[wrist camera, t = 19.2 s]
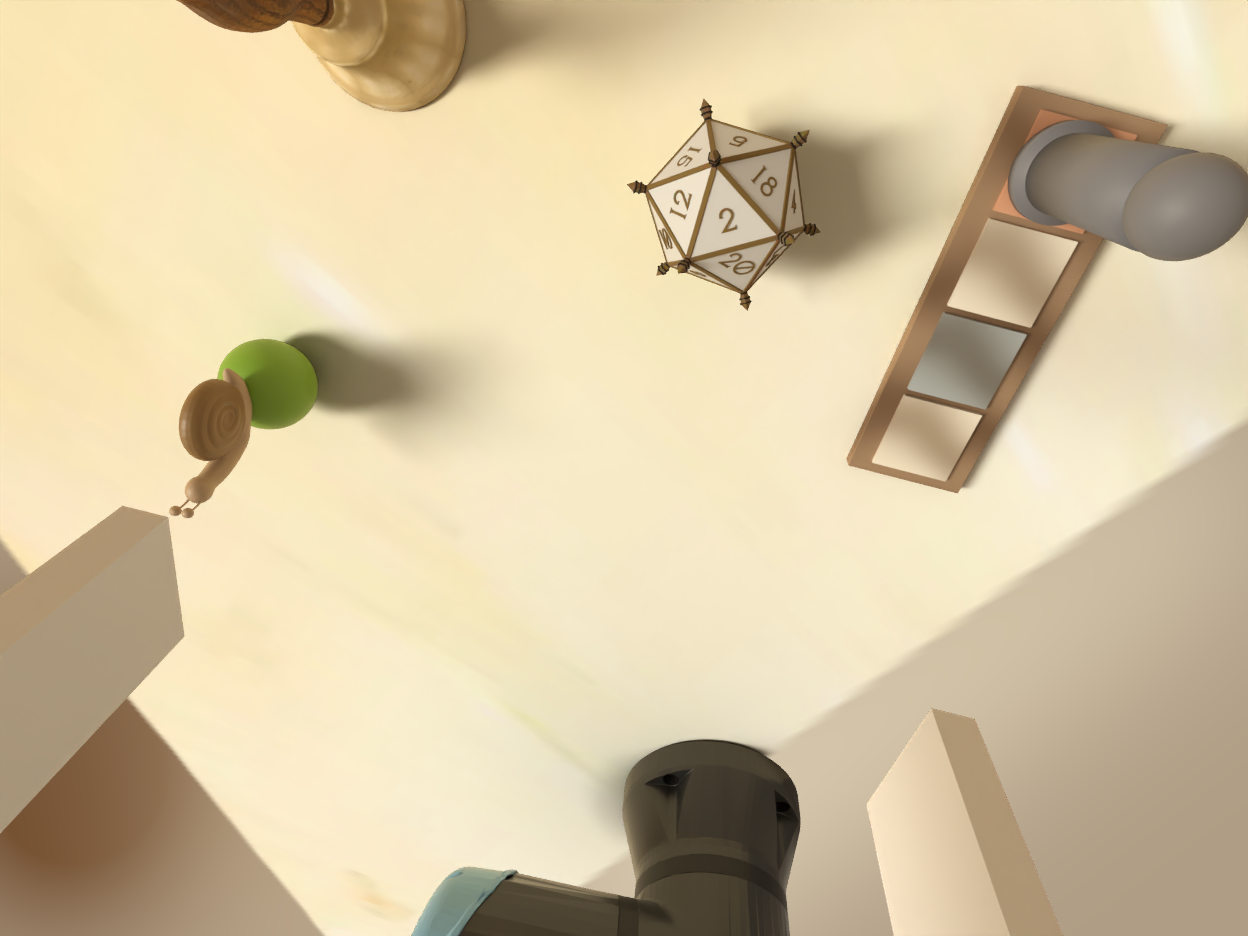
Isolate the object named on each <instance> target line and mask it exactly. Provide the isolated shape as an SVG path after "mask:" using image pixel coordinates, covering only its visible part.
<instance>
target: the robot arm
mask: <svg viewBox="0 0 1248 936" xmlns="http://www.w3.org/2000/svg"><path fill="white" fill-rule="evenodd" d="M183 637H184V630H183V623H182V615H181V608H180V601H179V593H178V586H177V579H176V571H175V564H174V557H173V549H172V542H171V535H170V527H169V520H168V517H165V516H161V515H157V514H153V513H149V512H145V511H141V510H137V509H133V508H129V507H125V506H122V507H120V508H119V509H118V510H116V511H115V512H114V513H112V514H111V515H110V516H108V517H107V518H105V519H104V520H103V521H101V522H100V523H99V524H97V525H96V526H95V527H93V528H92V529H91V530H89V531H88V532H86V533H85V534H84V535H82V536H81V537H80V538H78V539H77V540H76V541H74V542H73V543H72V544H70V545H69V546H67V547H66V548H65V549H63V550H62V551H61V552H59V553H58V554H57V555H55V556H54V557H53V558H51V559H50V560H49V561H47V562H46V563H44V564H43V565H42V566H40V567H39V568H38V569H36V570H35V571H34V572H32V573H31V574H30V575H28V576H27V577H26V578H24V579H23V580H21V581H20V582H19V583H17V584H16V585H15V586H13V587H12V588H11V589H9V590H8V591H7V592H5V593H4V594H2V595H1V596H0V833H1V832H2V831H3V830H4V829H5V828H6V827H7V826H8V825H9V823H10V822H11V821H12V820H13V819H14V818H15V817H16V816H17V815H18V814H19V813H20V812H21V811H22V810H23V808H24V807H25V806H26V805H27V804H28V803H29V802H30V801H31V800H32V799H33V798H34V797H35V796H36V795H37V793H38V792H39V791H40V790H41V789H42V788H43V787H44V786H45V785H46V784H47V783H48V782H49V781H50V780H51V778H52V777H53V776H54V775H55V774H56V773H57V772H58V771H59V770H60V769H61V768H62V767H63V766H64V765H65V763H66V762H67V761H68V760H69V759H70V758H71V757H72V756H73V755H74V754H75V753H76V752H77V750H79V748H80V747H81V746H82V745H83V744H84V743H85V742H86V741H87V740H88V739H89V738H90V737H91V736H92V735H93V733H94V732H95V731H96V730H97V729H98V728H99V727H100V726H101V725H102V724H103V723H104V722H105V721H106V720H107V718H108V717H109V716H110V715H111V714H112V713H113V712H114V711H115V710H116V709H117V708H118V707H119V706H120V705H121V703H122V702H123V701H124V700H125V699H126V698H127V697H128V696H129V695H130V694H131V693H132V692H133V691H134V690H135V689H136V687H137V686H138V685H139V684H140V683H141V682H142V681H143V680H144V679H145V678H146V677H147V676H148V675H149V674H150V672H151V671H152V670H153V669H154V668H155V667H156V666H157V665H158V664H159V663H160V662H161V661H162V660H163V659H164V657H165V656H166V655H167V654H168V653H169V652H170V651H171V650H172V649H173V648H174V647H175V646H176V645H177V644H178V642H179V641H180V640H181V639H182V638H183ZM866 806H867V811H868V815H869V820H870V825H871V829H872V834H873V839H874V844H875V848H876V853H877V858H878V863H879V867H880V872H881V876H882V881H883V886H884V890H885V896H886V900H887V905H888V910H889V914H890V919H891V924H892V928H893V933H894V936H1063V934H1062V931H1061V929H1060V927H1059V924H1058V922H1057V919H1056V917H1055V915H1054V912H1053V909H1052V907H1051V905H1050V902H1049V900H1048V897H1047V895H1046V892H1045V890H1044V887H1043V885H1042V883H1041V880H1040V878H1039V875H1038V873H1037V870H1036V868H1035V866H1034V863H1033V860H1032V858H1031V856H1030V853H1029V851H1028V848H1027V846H1026V843H1025V841H1024V838H1023V836H1022V834H1021V831H1020V829H1019V826H1018V824H1017V821H1016V819H1015V817H1014V814H1013V812H1012V809H1011V807H1010V804H1009V802H1008V799H1007V797H1006V794H1005V792H1004V789H1003V787H1002V784H1001V782H1000V780H999V777H998V775H997V772H996V770H995V767H994V765H993V762H992V760H991V758H990V755H989V753H988V751H987V748H986V746H985V743H984V740H983V738H982V736H981V733H980V731H979V728H978V726H977V723H976V721H975V719H972V718H968V717H964V716H961V715H956V714H952V713H948V712H945V711H941V710H937V709H932V708H931V709H930V711H929V713H928V714H927V716H926V717H925V718H924V720H923V721H922V723H921V724H920V726H919V727H918V729H917V730H916V732H915V733H914V735H913V736H912V737H911V739H910V740H909V742H908V744H907V745H906V746H905V748H904V750H903V751H902V752H901V754H900V755H899V757H898V758H897V760H896V761H895V763H894V764H893V766H892V767H891V769H890V770H889V772H888V773H887V774H886V776H885V777H884V779H883V780H882V782H881V783H880V785H879V786H878V788H877V789H876V791H875V792H874V794H873V795H872V797H871V798H870V800H869V801H868V803H867V804H866ZM622 811H623V821H624V826H625V831H626V835H627V840H628V845H629V849H630V854H631V859H632V863H633V868H634V872H635V877H636V889H635V899H634V898H629V897H624V896H619V895H616V894H611V893H606V892H601V891H596V890H591V889H586V888H582V887H577V886H573V885H568V884H564V883H559V882H555V881H550V880H546V879H541V878H537V877H532V876H528V875H523V874H519V873H518V872H517V871H516V870H507V871H496V870H490V869H483V868H477V867H464V868H460V869H458V870H456V871H454V872H453V873H451V874H450V875H449V876H448V877H447V878H446V879H445V880H444V881H443V882H442V883H441V884H440V885H439V887H438V888H437V889H436V891H435V892H434V894H433V896H432V897H431V899H430V900H429V902H428V904H427V906H426V907H425V909H424V911H423V913H422V915H421V917H420V919H419V921H418V923H417V925H416V927H415V929H414V931H413V933H412V935H411V936H790V932H789V921H788V913H787V901H786V888H787V884H788V879H789V875H790V871H791V866H792V862H793V858H794V853H795V849H796V845H797V841H798V836H799V832H800V811H799V802H798V795H797V791H796V788H795V785H794V784H793V782H792V780H791V778H790V777H789V776H788V774H787V773H786V772H785V771H784V770H783V769H782V768H781V767H780V766H779V765H777V764H776V763H775V762H773V761H772V760H771V759H769V758H767V757H766V756H764V755H762V754H760V753H758V752H756V751H753V750H751V749H748V748H745V747H742V746H738V745H734V744H729V743H723V742H714V741H693V742H684V743H678V744H674V745H670V746H667V747H664V748H661V749H659V750H656V751H654V752H652V753H651V754H649V755H647V756H646V757H644V758H643V759H642V760H640V761H639V762H638V763H637V764H636V765H635V766H634V767H633V769H632V770H631V772H630V773H629V775H628V777H627V780H626V783H625V790H624V798H623V808H622Z"/></svg>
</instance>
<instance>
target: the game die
mask: <svg viewBox="0 0 1248 936" xmlns="http://www.w3.org/2000/svg"><path fill="white" fill-rule="evenodd" d="M711 107H712V106H710V105H709V104H708V103H707V102H706V100H705V99H703V103H702V106H701V109H700V111H701V112H702V114H701V116H703V118H704V122H703V123H702V124H701V126H700V127H699V128H698V129H697V130H696V131H695V132H694V133H693V135H692V136H691V137H690V138H689V139H688V140H687V141H686V142H685V143H684V145H683V146H682V147H681V148H680V149H679V150H678V151H677V152H676V154H675V155H674V156H673V157H672V158H671V159H670V160H669V161H668V163H667V164H666V165H665V166H664V167H663V168H662V169H661V170H660V171H659V173H658V174H657V175H656V176H655V177H654V178H653V179H652V180H651V182H650V183H649V184H648V185H644V184H642V182H640V183H639V182H637V181H635V182H633V183H630V184H627V185H628V186H629V187H630V188H631V189H632V191H633V193H635V192H637V193H638V194H640V193H645V194H646V197H647V201H648V204H649V207H650V211H651V214H652V217H653V220H654V224H655V227H656V230H657V234H658V237H659V240H660V243H661V247H662V250H663V253H664V257H665V260H666V262H665V263H661V265H660V266H658V271H657V275H661V274H662V275H664V274H666V272H667V271H669V268H670V267H672V268H675V269H678V273H688V274H691V275H693V276H696V277H699V278H701V279H704V280H706V281H709V282H712V283H714V284H717V285H720V286H722V287H725V288H728V289H730V290H733V291H735V292H738V293H740V294H741V297H740V299H739V300H741V303H740V305H742V306H743V307H744V308H745V309H746V310H748V308H749V305H750V302H751V301H750V296H748V294H747V291H748V290H749V289H750V288H751V287H752V286H753V285H754V283H755V282H756V281H757V280H758V279H759V278H760V277H761V276H762V275H763V274H764V273H765V272H766V271H767V270H768V268H769V267H770V266H771V265H772V264H773V263H774V262H775V261H776V260H777V259H778V258H779V257H780V256H781V254H782V253H783V252H784V251H785V250H786V249H787V248H788V247H789V246H790V245H791V244H792V243H795V242H794V240H795V239H796V238H797V237H798V236H799V235H800V234H801V233H802V232H803V231H804V232H805V233H806V234H810V236H812V235H814V234H816V233H819V232H820V231H819V230H818V228H817V227H816V225H815V224H814V225H811V223H810V224H807V225H806V224H805V222H804V214H803V206H802V198H801V190H800V182H799V174H798V166H797V158H796V150H795V149H796V148H797V147H799V146H802V144H803V143H804V142H807V141H806V139H807V136H808V133H809V130H807V131H804V132H798V134H797V136H794V139H793V141H792V142H791V143H790V142H786V141H783V140H780V139H776V138H773V137H770V136H767V135H763V134H760V133H757V132H753V131H750V130H747V129H743V128H740V127H737V126H733V125H730V124H727V123H723V122H720V121H717V120H713V119H712V118H711V114H712V111H711ZM657 275H656V276H657Z"/></svg>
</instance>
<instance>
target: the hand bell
mask: <svg viewBox="0 0 1248 936" xmlns="http://www.w3.org/2000/svg"><path fill="white" fill-rule="evenodd" d="M177 1H179V2H181V3H183V4H184V5H185V6H187V7H188V8H189V9H190V10H192V11H193V12H195V13H196V14H198V15H199V16H200V17H202V18H204V19H205V20H207V21H209V22H210V23H213V24H215V25H217V26H219V27H222V28H225V29H229V30H233V31H240V32H250V33H253V32H263V31H268V30H272V29H275V28H277V27H280V26H281V25H283V24H284V23H286V22H287V21H289V20H290V21H292V23H293V26H294V28H295V30H296V32H297V33H298V35H299V37H300V38H301V39H302V41H303V42H304V43H305V45H306V46H307V47H308V48H309V49H310V50H311V51H312V52H313V53H314V54H316V56H317V58H318V59H319V61H320V63H321V64H322V66H323V67H324V69H325V70H326V71H327V73H328V74H329V75H330V76H331V78H332V79H333V80H334V81H335V82H336V83H337V84H338V85H339V86H340V87H341V88H342V89H343V90H344V91H346V92H347V93H348V94H349V95H351V96H352V97H354V98H355V99H357V100H358V101H360V102H362V103H364V104H367V105H369V106H371V107H374V108H377V109H381V110H385V111H408V110H412V109H416V108H419V107H421V106H424V105H426V104H427V103H429V102H431V101H433V100H434V99H436V98H437V97H438V96H439V95H440V94H441V93H442V92H443V91H444V90H445V89H446V88H447V86H448V85H449V84H450V82H451V81H452V79H453V77H454V76H455V74H456V72H457V70H458V67H459V65H460V62H461V58H462V55H463V51H464V45H465V39H466V17H465V8H464V2H463V0H177Z"/></svg>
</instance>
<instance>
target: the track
mask: <svg viewBox="0 0 1248 936" xmlns="http://www.w3.org/2000/svg"><path fill="white" fill-rule="evenodd" d="M1065 120H1084V121H1090V122H1095V123H1098V124H1100V125H1102V126H1104V127H1106V128H1107V129H1108V130H1109V131H1110V132H1111V133H1112V134H1113V135H1114V136H1115V138H1118V139H1124V140H1131V141H1137V142H1143V143H1150V144H1156V145H1157V143H1158V141H1159V140H1160V138H1161V136H1162V134H1163V133H1164V131H1165V129H1166V127H1167V126H1168V125H1166V124H1162V123H1159V122H1155V121H1151V120H1147V119H1144V118H1140V117H1136V116H1133V115H1129V114H1125V113H1121V112H1118V111H1114V110H1110V109H1107V108H1103V107H1099V106H1095V105H1092V104H1088V103H1084V102H1081V101H1077V100H1073V99H1069V98H1066V97H1062V96H1058V95H1055V94H1051V93H1047V92H1043V91H1040V90H1036V89H1032V88H1029V87H1025V86H1017V87H1016V90H1015V92H1014V94H1013V96H1012V98H1011V101H1010V103H1009V105H1008V107H1007V109H1006V111H1005V114H1004V116H1003V118H1002V120H1001V122H1000V125H999V127H998V129H997V131H996V133H995V135H994V138H993V140H992V142H991V144H990V146H989V149H988V151H987V153H986V155H985V157H984V160H983V162H982V164H981V166H980V168H979V170H978V173H977V175H976V177H975V179H974V181H973V184H972V186H971V188H970V190H969V192H968V195H967V197H966V199H965V201H964V203H963V205H962V208H961V210H960V212H959V214H958V216H957V219H956V221H955V223H954V225H953V227H952V229H951V232H950V234H949V236H948V238H947V240H946V243H945V245H944V247H943V249H942V251H941V254H940V256H939V258H938V260H937V262H936V264H935V267H934V269H933V271H932V273H931V275H930V278H929V280H928V282H927V284H926V286H925V289H924V291H923V293H922V295H921V297H920V299H919V302H918V304H917V306H916V308H915V310H914V313H913V315H912V317H911V319H910V321H909V323H908V326H907V328H906V330H905V332H904V334H903V337H902V339H901V341H900V343H899V345H898V348H897V350H896V352H895V354H894V356H893V358H892V361H891V363H890V365H889V367H888V369H887V372H886V374H885V376H884V378H883V380H882V383H881V385H880V387H879V389H878V391H877V393H876V396H875V398H874V400H873V402H872V404H871V407H870V409H869V411H868V413H867V415H866V417H865V420H864V422H863V424H862V426H861V428H860V431H859V433H858V435H857V437H856V439H855V442H854V444H853V446H852V448H851V450H850V452H849V455H848V457H847V462H848V465H849V466H853V467H857V468H861V469H865V470H869V471H873V472H877V473H880V474H884V475H888V476H892V477H896V478H900V479H904V480H908V481H912V482H916V483H919V484H923V485H927V486H931V487H935V488H939V489H943V490H947V491H951V492H954V493H958V492H959V490H960V488H961V487H962V485H963V483H964V481H965V480H966V478H967V476H968V474H969V473H970V471H971V469H972V467H973V466H974V464H975V462H976V460H977V459H978V457H979V455H980V453H981V452H982V450H983V448H984V446H985V445H986V443H987V441H988V439H989V438H990V436H991V434H992V432H993V431H994V429H995V427H996V425H997V424H998V422H999V420H1000V418H1001V417H1002V415H1003V413H1004V411H1005V410H1006V408H1007V406H1008V404H1009V403H1010V401H1011V399H1012V397H1013V396H1014V394H1015V392H1016V390H1017V389H1018V387H1019V385H1020V383H1021V382H1022V380H1023V378H1024V376H1025V374H1026V373H1027V371H1028V369H1029V367H1030V366H1031V364H1032V362H1033V360H1034V359H1035V357H1036V355H1037V353H1038V352H1039V350H1040V348H1041V346H1042V345H1043V343H1044V341H1045V339H1046V338H1047V336H1048V334H1049V332H1050V331H1051V329H1052V327H1053V325H1054V324H1055V322H1056V320H1057V318H1058V317H1059V315H1060V313H1061V311H1062V310H1063V308H1064V306H1065V304H1066V303H1067V301H1068V299H1069V297H1070V296H1071V294H1072V292H1073V290H1074V289H1075V287H1076V285H1077V283H1078V282H1079V280H1080V278H1081V276H1082V275H1083V273H1084V271H1085V269H1086V268H1087V266H1088V264H1089V262H1090V261H1091V259H1092V257H1093V255H1094V254H1095V252H1096V250H1097V248H1098V247H1099V245H1100V243H1101V241H1102V240H1103V237H1100V236H1098V235H1095V234H1093V233H1091V232H1088V231H1086V230H1083V229H1081V228H1078V227H1076V226H1074V225H1071V224H1069V223H1068V224H1064V225H1058V226H1047V225H1042V224H1038V223H1036V222H1033V221H1031V220H1029V219H1027V218H1025V217H1023V216H1022V215H1021V214H1019V213H1018V211H1017V210H1016V209H1015V208H1014V206H1013V205H1012V203H1011V201H1010V198H1009V194H1008V176H1009V172H1010V168H1011V166H1012V163H1013V161H1014V159H1015V157H1016V155H1017V154H1018V152H1019V151H1020V149H1021V148H1022V147H1023V145H1024V144H1025V143H1026V142H1027V141H1028V140H1029V139H1030V138H1031V137H1032V136H1034V135H1035V134H1036V133H1037V132H1039V131H1040V130H1042V129H1044V128H1045V127H1047V126H1050V125H1052V124H1054V123H1057V122H1061V121H1065Z"/></svg>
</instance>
